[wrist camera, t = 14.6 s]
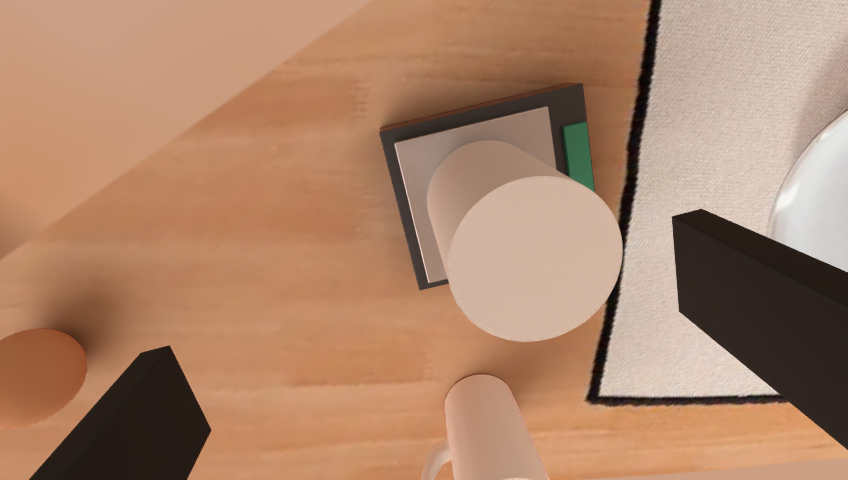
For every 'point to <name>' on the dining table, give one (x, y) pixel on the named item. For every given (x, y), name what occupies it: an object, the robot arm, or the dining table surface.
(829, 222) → the dining table surface
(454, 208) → the white cylinder
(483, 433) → the mug
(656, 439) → the dining table surface
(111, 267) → the dining table surface
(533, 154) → the scale pan
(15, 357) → the egg
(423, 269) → the scale
